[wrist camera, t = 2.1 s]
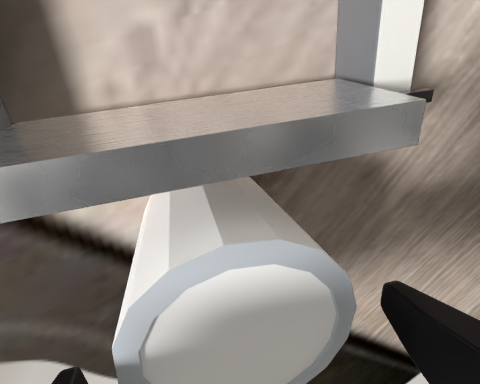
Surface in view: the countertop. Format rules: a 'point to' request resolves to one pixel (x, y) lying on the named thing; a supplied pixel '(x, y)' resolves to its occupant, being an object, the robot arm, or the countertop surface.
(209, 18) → the countertop surface
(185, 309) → the white tapered cup
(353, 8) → the frame
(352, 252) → the countertop surface
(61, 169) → the flat metal bar
